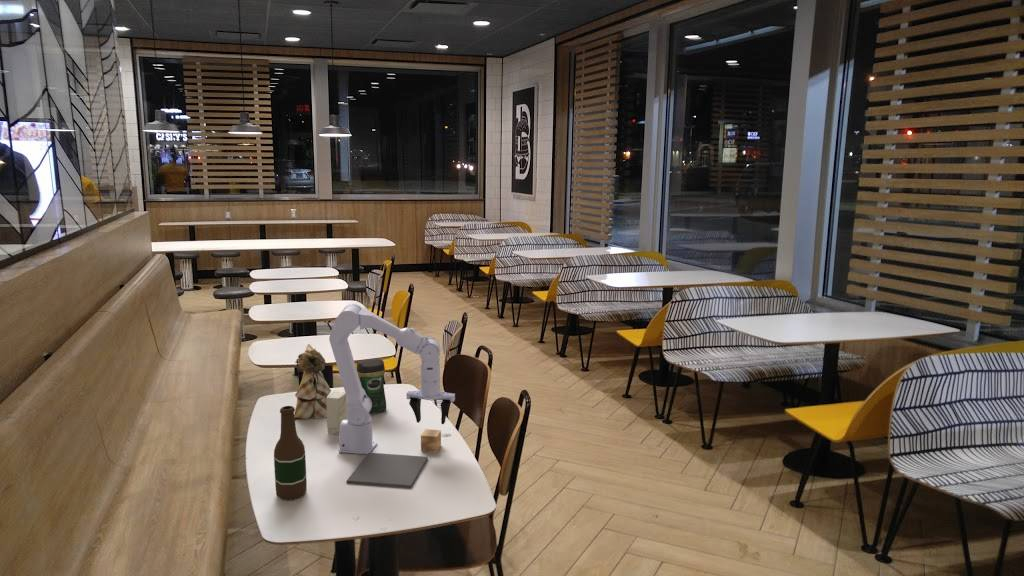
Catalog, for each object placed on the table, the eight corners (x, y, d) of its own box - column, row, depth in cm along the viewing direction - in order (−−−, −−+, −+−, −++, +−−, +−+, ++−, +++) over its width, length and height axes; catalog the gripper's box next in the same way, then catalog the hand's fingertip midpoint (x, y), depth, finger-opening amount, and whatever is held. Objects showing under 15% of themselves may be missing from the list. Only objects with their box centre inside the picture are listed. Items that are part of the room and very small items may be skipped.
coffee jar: (382, 404, 244) (380, 354, 240) (388, 412, 237) (387, 360, 234) (355, 408, 240) (353, 358, 236) (361, 416, 233) (359, 364, 229)
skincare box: (339, 435, 217) (338, 398, 215) (326, 433, 218) (325, 397, 216) (348, 427, 223) (347, 392, 221) (335, 426, 224) (334, 391, 222)
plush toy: (348, 406, 239) (330, 338, 235) (328, 421, 226) (309, 350, 222) (313, 410, 243) (295, 344, 239) (292, 426, 230) (272, 356, 226)
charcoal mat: (346, 483, 185) (346, 480, 185) (368, 455, 203) (368, 452, 203) (410, 488, 183) (410, 485, 183) (427, 459, 201) (427, 456, 200)
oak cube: (421, 451, 206) (420, 435, 205) (425, 444, 211) (425, 429, 210) (437, 452, 206) (437, 436, 205) (440, 445, 211) (440, 430, 210)
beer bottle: (274, 489, 181) (270, 404, 176) (305, 484, 184) (301, 400, 180) (277, 503, 174) (272, 414, 169) (308, 498, 177) (304, 410, 172)
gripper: (403, 382, 201) (404, 425, 204) (451, 385, 200) (451, 428, 202) (409, 375, 208) (410, 417, 211) (456, 377, 206) (456, 419, 209)
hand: (431, 422), depth 207 cm, fingers open, 7 cm apart
